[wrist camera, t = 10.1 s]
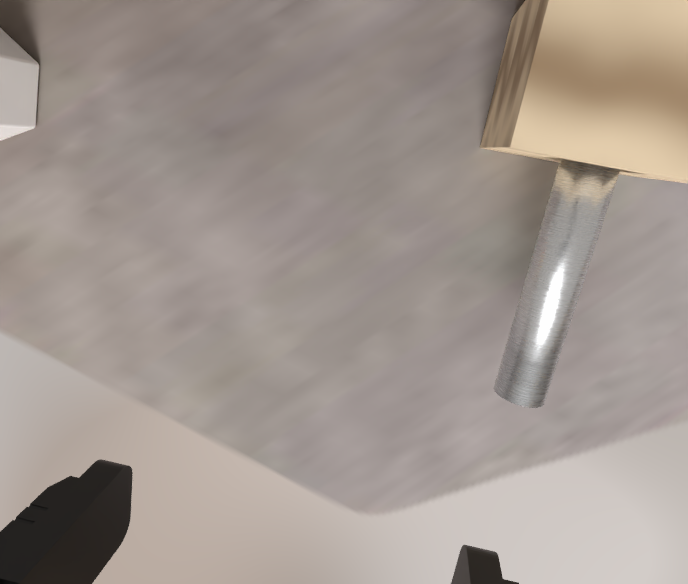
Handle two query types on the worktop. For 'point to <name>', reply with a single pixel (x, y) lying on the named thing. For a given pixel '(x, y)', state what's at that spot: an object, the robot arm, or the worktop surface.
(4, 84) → the jar
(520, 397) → the shaft
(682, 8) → the tan wooden block
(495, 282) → the worktop surface
